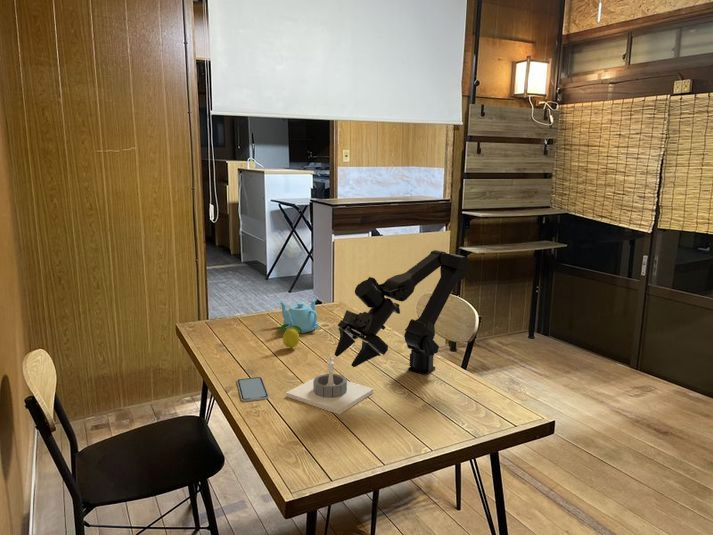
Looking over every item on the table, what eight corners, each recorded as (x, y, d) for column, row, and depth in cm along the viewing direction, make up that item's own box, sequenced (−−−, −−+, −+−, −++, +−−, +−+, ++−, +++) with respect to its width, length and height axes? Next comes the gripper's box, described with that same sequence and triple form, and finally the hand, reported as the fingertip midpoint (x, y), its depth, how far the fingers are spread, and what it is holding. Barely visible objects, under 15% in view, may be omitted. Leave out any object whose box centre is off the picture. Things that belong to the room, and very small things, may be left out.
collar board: (373, 392, 148) (373, 378, 148) (339, 414, 136) (339, 399, 135) (322, 377, 158) (322, 364, 158) (286, 396, 146) (286, 382, 145)
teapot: (322, 334, 199) (322, 307, 197) (281, 336, 196) (281, 309, 194) (316, 322, 213) (316, 297, 211) (278, 324, 210) (278, 299, 208)
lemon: (278, 351, 180) (278, 322, 178) (284, 345, 186) (284, 317, 184) (297, 352, 179) (296, 324, 177) (303, 347, 184) (302, 319, 182)
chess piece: (325, 385, 150) (325, 351, 148) (342, 387, 149) (342, 353, 147) (319, 392, 145) (319, 357, 143) (336, 394, 144) (336, 359, 142)
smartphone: (261, 376, 158) (269, 396, 144) (261, 379, 158) (269, 399, 144) (236, 379, 156) (241, 400, 142) (236, 382, 156) (241, 403, 142)
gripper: (343, 292, 155) (309, 335, 151) (379, 307, 139) (343, 355, 136) (365, 314, 160) (334, 356, 157) (403, 331, 145) (368, 378, 141)
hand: (343, 360), depth 147 cm, fingers open, 9 cm apart
